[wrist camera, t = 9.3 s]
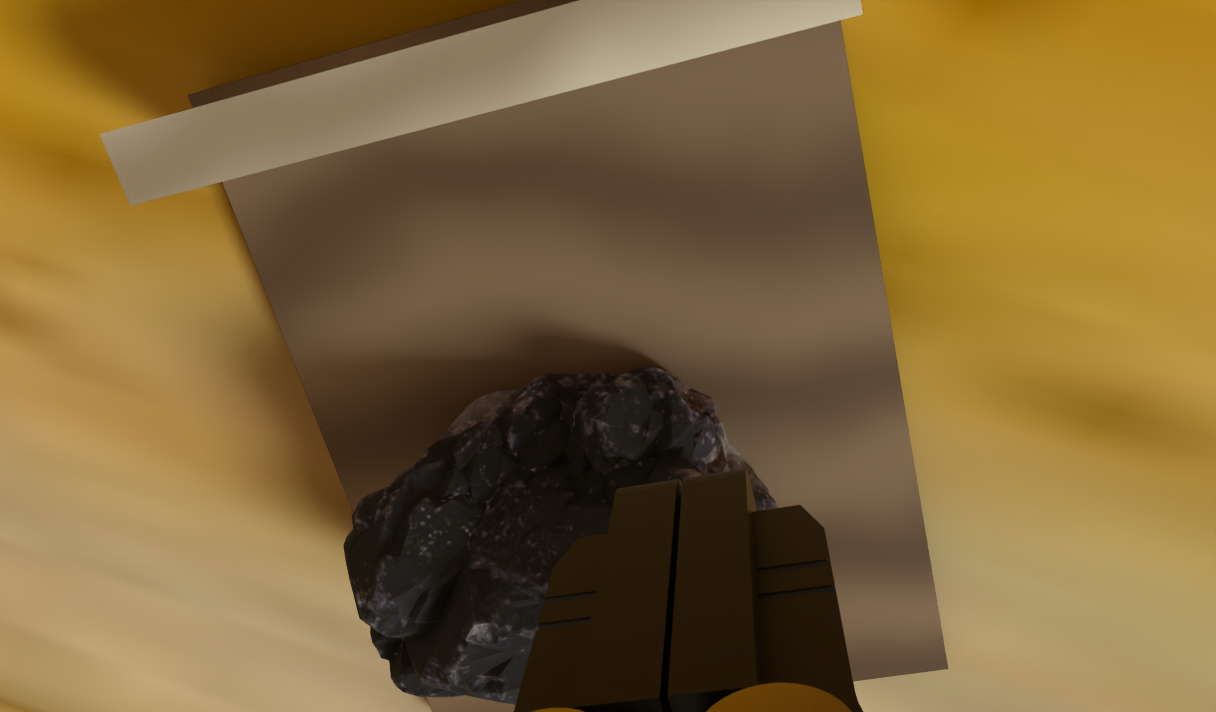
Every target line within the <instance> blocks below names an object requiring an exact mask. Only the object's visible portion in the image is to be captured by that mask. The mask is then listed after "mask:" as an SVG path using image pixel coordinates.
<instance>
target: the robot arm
mask: <svg viewBox="0 0 1216 712" xmlns="http://www.w3.org/2000/svg"><path fill="white" fill-rule="evenodd" d="M545 601H546V604H543V607H542V610H541V614H540V617H539V621H538V628H539V629H538V630H536V632H535V636H534V639H533V643H532V647H531V650H530V654H529V658H528V661H527V665H526V669H525V672H524V676H523V679H522V683H521V687H520V690H519V694H518V698H517V701H516V705H515V709H514V712H863V710H862V709H861V707H860V705H859V703H858V700H857V697H856V694H855V690H854V684H853V679H852V673H851V668H850V663H849V657H848V652H847V647H846V641H845V636H844V631H843V625H842V620H841V615H840V609H839V604H838V599H837V593H836V588H835V582H834V577H833V572H832V566H831V561H830V556H829V550H828V545H827V540H826V534H825V529H824V527H823V526H822V525H821V524H820V523H819V522H818V521H817V520H816V519H814V518H813V517H812V516H811V515H810V514H809V513H808V512H807V511H806V510H805V509H804V508H803V507H802V506H801V505H795V506H788V507H782V508H775V509H768V510H761V511H757V509H756V505H755V500H754V495H753V490H752V486H751V481H750V477H749V474H748V471H747V469H746V468H745V469H739V470H732V471H726V472H719V473H713V474H707V475H700V476H694V477H687V478H684V479H683V483H682V482H681V481H680V480H679V479H676V480H670V481H663V482H657V483H650V484H644V485H637V486H631V487H625V488H618V489H617V490H616V492H615V497H614V502H613V507H612V512H611V517H610V522H609V527H608V532H607V534H600V535H593V536H586V537H579V538H577V540H576V541H575V542H574V543H573V544H572V545H571V547H570V548H569V549H568V550H567V551H566V553H565V554H564V555H563V556H562V557H561V558H560V560H559V561H558V562H557V563H556V564H555V565H554V567H553V570H552V574H551V577H550V581H549V585H548V588H547V592H546V596H545Z"/></svg>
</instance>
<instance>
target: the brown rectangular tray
mask: <svg viewBox="0 0 1216 712" xmlns="http://www.w3.org/2000/svg"><path fill="white" fill-rule="evenodd" d="M862 14H863V12H862V6H861V0H522V1H518V2H515V3H511V4H508V5H504V6H501V7H497V8H494V9H490V10H486V11H483V12H479V13H476V14H472V15H469V16H465V17H462V18H458V19H455V20H451V21H448V22H444V23H441V24H437V25H433V26H430V27H426V28H423V29H419V30H416V31H412V32H409V33H405V34H402V35H398V36H395V37H391V38H387V39H384V40H380V41H377V42H373V43H370V44H366V45H363V46H359V47H356V48H352V49H349V50H345V51H342V52H338V53H334V54H331V55H327V56H324V57H320V58H317V59H313V60H310V61H306V62H303V63H299V64H296V65H292V66H288V67H285V68H281V69H278V70H274V71H271V72H267V73H264V74H260V75H257V76H253V77H250V78H246V79H242V80H239V81H235V82H232V83H228V84H225V85H221V86H218V87H214V88H211V89H207V90H204V91H200V92H197V93H193V94H189V95H188V97H189V99H190V102H191V105H192V107H193V108H192V109H188V110H185V111H181V112H178V113H174V114H170V115H167V116H163V117H160V118H156V119H153V120H149V121H145V122H142V123H138V124H135V125H131V126H127V127H124V128H120V129H117V130H113V131H110V132H106V133H102V134H100V136H101V139H102V141H103V143H104V146H105V148H106V150H107V153H108V155H109V157H110V160H111V162H112V164H113V166H114V169H115V171H116V173H117V176H118V178H119V180H120V183H121V185H122V187H123V190H124V192H125V194H126V197H127V199H128V201H129V203H130V206H131V205H135V204H139V203H143V202H146V201H150V200H154V199H158V198H162V197H166V196H169V195H173V194H177V193H181V192H185V191H189V190H192V189H196V188H200V187H204V186H208V185H211V184H215V183H219V182H222V183H223V185H224V188H225V190H226V193H227V195H228V198H229V200H230V203H231V205H232V208H233V211H234V213H235V216H236V218H237V221H238V223H239V226H240V228H241V231H242V233H243V236H244V238H245V241H246V243H247V246H248V248H249V251H250V253H251V256H252V258H253V261H254V264H255V266H256V269H257V271H258V274H259V276H260V279H261V281H262V284H263V286H264V289H265V291H266V294H267V296H268V299H269V301H270V304H271V306H272V309H273V311H274V314H275V317H276V319H277V322H278V324H279V327H280V329H281V332H282V334H283V337H284V339H285V342H286V344H287V347H288V349H289V352H290V354H291V357H292V359H293V362H294V364H295V367H296V370H297V372H298V375H299V377H300V380H301V382H302V385H303V387H304V390H305V392H306V395H307V397H308V400H309V402H310V405H311V407H312V410H313V412H314V415H315V417H316V420H317V423H318V425H319V428H320V430H321V433H322V435H323V438H324V440H325V443H326V445H327V448H328V450H329V453H330V455H331V458H332V460H333V463H334V465H335V468H336V470H337V473H338V476H339V478H340V481H341V483H342V486H343V488H344V491H345V493H346V496H347V498H348V501H349V503H350V506H351V508H352V511H353V513H354V511H355V509H356V507H357V505H358V503H359V501H360V500H361V499H363V498H364V497H365V496H367V495H368V494H371V493H373V492H376V491H379V490H381V489H383V488H385V487H387V486H388V485H390V484H392V483H393V480H394V478H395V477H396V476H397V475H398V474H400V473H401V472H403V471H404V470H406V469H407V468H409V467H410V466H412V465H413V464H414V463H416V462H417V461H418V460H419V459H420V458H421V457H422V455H423V454H424V452H425V451H426V450H427V448H429V447H430V446H431V445H433V444H434V443H435V442H436V441H437V439H438V438H439V437H440V436H441V435H442V434H443V433H444V432H445V431H446V430H447V429H448V428H449V427H450V426H451V424H452V423H453V422H454V421H455V419H456V418H457V417H458V416H459V415H460V414H461V413H462V412H463V411H464V410H465V408H466V407H468V406H469V405H470V404H471V403H472V402H473V401H475V400H476V399H477V398H480V397H482V396H484V395H487V394H490V393H493V392H496V391H504V390H518V389H521V388H522V387H523V386H525V385H526V384H527V383H528V382H530V381H531V380H533V379H535V378H537V377H540V376H542V375H544V374H547V373H548V374H558V373H569V374H576V375H579V374H581V373H583V372H587V373H592V374H603V373H608V374H614V375H621V374H623V373H625V372H628V371H632V370H636V369H640V368H645V367H648V368H659V369H662V370H664V371H666V372H668V373H670V374H671V376H672V377H673V378H675V379H678V380H681V381H682V382H683V383H685V384H686V385H687V386H689V387H690V388H691V389H693V390H696V391H698V392H700V393H703V394H705V395H708V396H710V397H711V398H712V399H713V400H714V402H715V403H716V412H715V414H716V416H717V417H718V419H719V420H720V421H721V422H722V424H723V426H724V430H725V434H726V437H727V439H728V440H729V441H730V442H731V443H732V444H733V445H734V446H735V447H736V449H737V450H738V452H739V453H740V454H741V457H742V458H743V460H744V461H745V463H747V464H748V465H749V466H750V467H752V468H753V469H754V471H755V473H756V475H757V477H758V478H759V479H760V480H761V481H762V482H763V483H764V485H765V486H766V487H767V488H768V489H769V495H770V496H771V497H772V498H773V499H774V500H775V502H776V504H777V507H778V508H782V507H788V506H795V505H801V506H802V507H803V508H804V509H805V510H806V511H807V512H808V513H809V514H810V515H811V516H812V517H813V518H814V519H816V520H817V521H818V522H819V523H820V524H821V525H822V526H823V527H824V529H825V534H826V540H827V545H828V550H829V556H830V561H831V566H832V572H833V577H834V582H835V588H836V593H837V599H838V604H839V609H840V615H841V620H842V625H843V631H844V636H845V641H846V647H847V652H848V657H849V663H850V668H851V673H852V679H853V681H859V680H867V679H874V678H882V677H890V676H897V675H905V674H913V673H920V672H928V671H936V670H943V669H948V665H947V659H946V653H945V647H944V641H943V635H942V629H941V623H940V617H939V611H938V605H937V599H936V593H935V587H934V581H933V575H932V569H931V563H930V557H929V551H928V545H927V539H926V533H925V527H924V521H923V515H922V509H921V503H920V497H919V491H918V485H917V479H916V472H915V466H914V460H913V454H912V448H911V442H910V436H909V430H908V424H907V418H906V412H905V406H904V400H903V394H902V388H901V382H900V376H899V370H898V364H897V358H896V352H895V346H894V340H893V334H892V328H891V322H890V316H889V310H888V304H887V298H886V292H885V286H884V280H883V274H882V268H881V262H880V256H879V250H878V244H877V238H876V232H875V226H874V220H873V214H872V208H871V202H870V196H869V190H868V184H867V178H866V172H865V166H864V160H863V154H862V148H861V142H860V136H859V130H858V124H857V118H856V112H855V106H854V99H853V93H852V87H851V81H850V75H849V69H848V63H847V57H846V51H845V45H844V39H843V33H842V27H841V21H840V20H843V19H847V18H851V17H855V16H859V15H862ZM426 698H427V700H428V703H429V705H430V708H431V710H432V712H514V709H515V705H513V704H507V703H501V702H496V701H491V700H486V699H481V698H476V697H471V696H467V695H464V696H460V697H426Z"/></svg>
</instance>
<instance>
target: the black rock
mask: <svg viewBox="0 0 1216 712" xmlns="http://www.w3.org/2000/svg"><path fill="white" fill-rule="evenodd" d="M715 412H716V403H715V402H714V400H713V399H712V398H711V397H710V396H708V395H705V394H703V393H700V392H698V391H696V390H693V389H691V388H690V387H689V386H687V385H686V384H685V383H683V382H682V381H681V380H678V379H675V378H673V377H672V376H671V374H670V373H668V372H666V371H664V370H662V369H659V368H648V367H645V368H640V369H636V370H632V371H628V372H625V373H623V374H621V375H614V374H608V373H603V374H592V373H587V372H583V373H581V374H579V375H576V374H569V373H558V374H548V373H547V374H544V375H542V376H540V377H537V378H535V379H533V380H531V381H530V382H528V383H527V384H526V385H525V386H523V387H522V388H521V389H518V390H504V391H496V392H493V393H490V394H487V395H484V396H482V397H480V398H477V399H476V400H475V401H473V402H472V403H471V404H470V405H469V406H468V407H466V408H465V410H464V411H463V412H462V413H461V414H460V415H459V416H458V417H457V418H456V419H455V421H454V422H453V423H452V424H451V426H450V427H449V428H448V429H447V430H446V431H445V432H444V433H443V434H442V435H441V436H440V437H439V438H438V439H437V441H436V442H435V443H434V444H433V445H431V446H430V447H429V448H427V450H426V451H425V452H424V454H423V455H422V457H421V458H420V459H419V460H418V461H417V462H416V463H414V464H413V465H412V466H410V467H409V468H407V469H406V470H404V471H403V472H401V473H400V474H398V475H397V476H396V477H395V478H394V480H393V483H392V484H390V485H388V486H387V487H385V488H383V489H381V490H379V491H376V492H373V493H371V494H368V495H367V496H365V497H364V498H363V499H361V500H360V501H359V503H358V505H357V507H356V509H355V511H354V513H353V515H352V521H353V530H352V531H351V532H350V533H349V534H348V536H347V538H346V540H345V543H344V552H345V559H346V564H347V569H348V574H349V579H350V583H351V587H352V591H353V594H354V598H355V602H356V606H357V610H358V614H359V618H360V619H361V620H362V621H364V622H365V623H366V624H368V625H369V626H371V629H370V634H371V638H372V643H373V644H374V646H375V647H376V648H377V650H378V652H379V654H380V656H381V658H383V659H387V660H389V663H390V672H391V679H392V680H393V682H394V684H395V685H396V686H397V687H398V688H399V689H400V690H402V691H403V692H405V693H408V694H412V695H415V696H421V697H460V696H464V695H467V696H471V697H476V698H481V699H486V700H491V701H496V702H501V703H507V704H513V705H516V701H517V698H518V694H519V690H520V687H521V683H522V679H523V676H524V672H525V669H526V665H527V661H528V658H529V654H530V650H531V647H532V643H533V639H534V636H535V632H536V630H538V629H539V628H538V621H539V617H540V614H541V610H542V607H543V604H546V601H545V596H546V592H547V588H548V585H549V581H550V577H551V574H552V570H553V567H554V565H555V564H556V563H557V562H558V561H559V560H560V558H561V557H562V556H563V555H564V554H565V553H566V551H567V550H568V549H569V548H570V547H571V545H572V544H573V543H574V542H575V541H576V540H577V538H579V537H586V536H593V535H600V534H607V532H608V527H609V522H610V517H611V512H612V507H613V502H614V497H615V492H616V490H617V489H618V488H625V487H631V486H637V485H644V484H650V483H657V482H663V481H670V480H676V479H679V480H680V481H681V482H682V483H683V479H684V478H687V477H694V476H700V475H707V474H713V473H719V472H726V471H732V470H739V469H745V468H746V469H747V471H748V474H749V477H750V481H751V486H752V490H753V495H754V500H755V505H756V509H757V511H761V510H768V509H775V508H778V507H777V504H776V502H775V500H774V499H773V498H772V497H771V496H770V495H769V489H768V488H767V487H766V486H765V485H764V483H763V482H762V481H761V480H760V479H759V478H758V477H757V475H756V473H755V471H754V469H753V468H752V467H750V466H749V465H748V464H747V463H745V461H744V460H743V458H742V457H741V454H740V453H739V452H738V450H737V449H736V447H735V446H734V445H733V444H732V443H731V442H730V441H729V440H728V439H727V437H726V434H725V430H724V426H723V424H722V422H721V421H720V420H719V419H718V417H717V416H716V414H715Z"/></svg>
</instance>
